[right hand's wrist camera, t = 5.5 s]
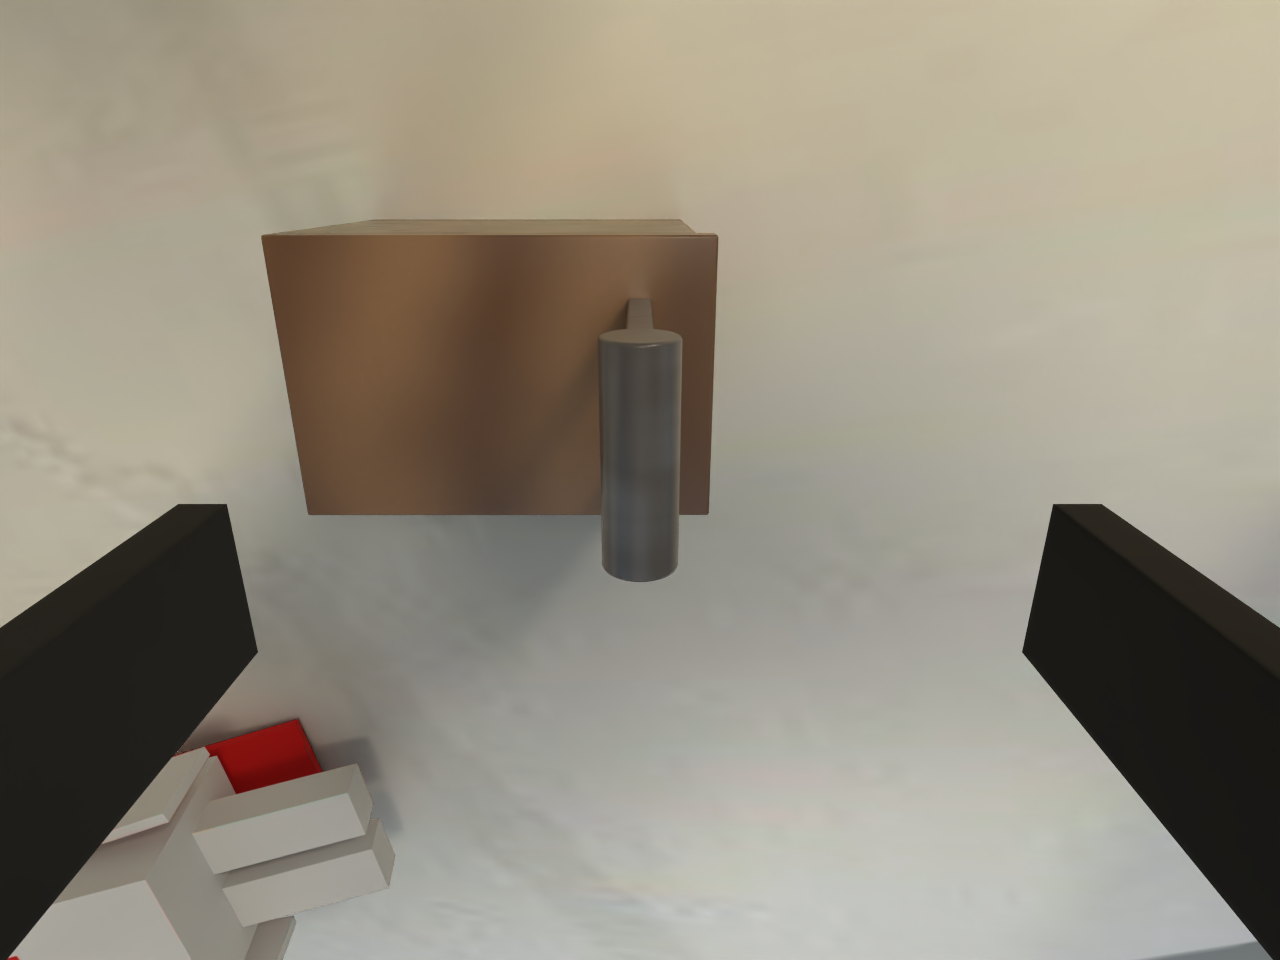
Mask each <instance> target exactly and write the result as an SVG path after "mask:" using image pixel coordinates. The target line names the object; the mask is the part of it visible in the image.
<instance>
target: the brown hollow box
mask: <svg viewBox="0 0 1280 960" xmlns="http://www.w3.org/2000/svg"><path fill="white" fill-rule="evenodd" d="M282 233H696V232H694V231H693V230H692V229H691V228H690V227H689V226H687V225H686V224H685V223H684V222H683V221H682V220H370V221H362V222H355V223H348V224H340V225H333V226H326V227H318V228H311V229H304V230H296V231H289V232H282Z"/></svg>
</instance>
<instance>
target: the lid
mask: <svg viewBox="0 0 1280 960" xmlns="http://www.w3.org/2000/svg"><path fill="white" fill-rule="evenodd" d="M261 239H262V245H263V251H264V256H265V262H266V268H267V274H268V280H269V286H270V292H271V298H272V304H273V310H274V315H275V321H276V327H277V333H278V339H279V345H280V351H281V357H282V363H283V368H284V374H285V380H286V386H287V392H288V398H289V404H290V410H291V416H292V421H293V427H294V433H295V439H296V445H297V451H298V457H299V463H300V469H301V475H302V480H303V486H304V492H305V498H306V504H307V510H308V514H309V515H601V529H602V565H603V567H604V569H605V571H606V572H607V573H608V574H610V575H612V576H613V577H616V578H618V579H622V580H626V581H633V582H647V581H654V580H659V579H662V578H665V577H667V576H669V575H670V574H672V573H673V572H674V571H675V569H676V568H677V565H678V535H679V515H707V514H708V513H709V489H710V461H711V432H712V404H713V375H714V347H715V318H716V289H717V261H718V235H716V234H714V233H274V234H266V235H262V236H261Z"/></svg>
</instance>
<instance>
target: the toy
mask: <svg viewBox="0 0 1280 960" xmlns="http://www.w3.org/2000/svg"><path fill="white" fill-rule="evenodd" d="M373 804H374V803H373V801H372V798H371V796H370V793H369V791H368V789H367V786H366V784H365V782H364V779H363V777H362V774H361V772H360V770H359V767H358V765H357V763H355V764H351V765H347V766H344V767H340V768H336V769H332V770H328V771H324V772H323V771H322V769H321V767H320V765H319V763H318V761H317V759H316V757H315V754H314V752H313V750H312V748H311V746H310V744H309V742H308V740H307V737H306V735H305V733H304V731H303V729H302V727H301V725H300V723H299V721H298V719H296V720H293V721H290V722H286V723H283V724H279V725H276V726H273V727H269V728H266V729H262V730H259V731H256V732H252V733H249V734H245V735H242V736H238V737H235V738H232V739H228V740H225V741H221V742H218V743H215V744H211V745H208V746H204V747H201V748H198V749H194V750H191V751H187V752H184V753H180V754H177V755H174V756H173V757H172V758H171V759H170V760H169V762H168V763H167V764H166V765H165V767H164V768H163V769H162V770H161V771H160V773H159V774H158V775H157V776H156V778H155V779H154V780H153V781H152V782H151V784H150V785H149V786H148V787H147V789H146V790H145V791H144V792H143V794H142V795H141V796H140V797H139V798H138V800H137V801H136V802H135V803H134V805H133V806H132V807H131V808H130V809H129V811H128V812H127V813H126V814H125V816H124V817H123V818H122V819H121V820H120V822H119V823H118V824H117V825H116V827H115V828H114V829H113V830H112V832H111V833H110V834H109V835H108V836H107V838H106V839H105V840H104V841H103V843H102V844H101V845H100V846H99V847H98V849H97V850H96V851H95V852H94V854H93V855H92V856H91V857H90V858H89V860H88V861H87V862H86V863H85V865H84V866H83V867H82V868H81V870H80V871H79V872H78V873H77V874H76V876H75V877H74V878H73V879H72V881H71V882H70V883H69V884H68V885H67V887H66V888H65V889H64V890H63V892H62V893H61V894H60V895H59V896H58V898H57V899H56V900H55V901H54V903H53V904H52V905H51V906H50V908H49V909H48V910H47V911H46V912H45V914H44V915H43V916H42V917H41V919H40V920H39V921H38V922H37V923H36V925H35V926H34V927H33V928H32V930H31V931H30V932H29V933H28V934H27V936H26V937H25V938H24V939H23V941H22V942H21V943H20V944H19V946H18V947H17V948H16V949H15V950H14V952H13V953H12V954H11V955H10V957H9V958H8V959H7V960H283V958H284V955H285V952H286V950H287V947H288V944H289V941H290V939H291V936H292V933H293V931H294V928H295V925H296V921H295V918H294V916H289V917H284V918H280V917H283V916H287V915H291V914H295V913H298V912H302V911H306V910H309V909H313V908H317V907H321V906H324V905H328V904H332V903H335V902H339V901H343V900H347V899H350V898H354V897H358V896H361V895H365V894H369V893H373V892H376V891H380V890H384V889H387V888H389V884H390V879H391V874H392V870H393V865H394V860H395V853H394V851H393V848H392V846H391V844H390V841H389V839H388V836H387V834H386V832H385V829H384V827H383V825H382V822H381V820H380V818H376V819H372V820H369V819H370V816H371V812H372V808H373ZM276 918H278V919H276ZM272 919H273V920H272Z"/></svg>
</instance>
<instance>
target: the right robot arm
mask: <svg viewBox="0 0 1280 960" xmlns="http://www.w3.org/2000/svg"><path fill="white" fill-rule="evenodd" d="M257 653H258V651H257V646H256V641H255V636H254V632H253V627H252V622H251V617H250V613H249V608H248V603H247V598H246V594H245V589H244V584H243V579H242V575H241V570H240V565H239V560H238V556H237V551H236V546H235V541H234V537H233V532H232V527H231V522H230V518H229V513H228V508H227V504H178V505H177V506H175V507H174V508H172V509H171V510H169V511H168V512H166V513H165V514H164V515H162V516H161V517H159V518H158V519H156V520H155V521H154V522H152V523H151V524H149V525H148V526H146V527H145V528H143V529H142V530H141V531H139V532H138V533H136V534H135V535H133V536H132V537H131V538H129V539H128V540H126V541H125V542H123V543H122V544H120V545H119V546H118V547H116V548H115V549H113V550H112V551H110V552H109V553H107V554H106V555H105V556H103V557H102V558H100V559H99V560H97V561H96V562H95V563H93V564H92V565H90V566H89V567H87V568H86V569H84V570H83V571H82V572H80V573H79V574H77V575H76V576H74V577H73V578H71V579H70V580H69V581H67V582H66V583H64V584H63V585H61V586H60V587H59V588H57V589H56V590H54V591H53V592H51V593H50V594H48V595H47V596H46V597H44V598H43V599H41V600H40V601H38V602H37V603H35V604H34V605H33V606H31V607H30V608H28V609H27V610H25V611H24V612H23V613H21V614H20V615H18V616H17V617H15V618H14V619H12V620H11V621H10V622H8V623H7V624H5V625H4V626H2V627H1V628H0V960H7V959H8V958H9V957H10V955H11V954H12V953H13V952H14V950H15V949H16V948H17V947H18V946H19V944H20V943H21V942H22V941H23V939H24V938H25V937H26V936H27V934H28V933H29V932H30V931H31V930H32V928H33V927H34V926H35V925H36V923H37V922H38V921H39V920H40V919H41V917H42V916H43V915H44V914H45V912H46V911H47V910H48V909H49V908H50V906H51V905H52V904H53V903H54V901H55V900H56V899H57V898H58V896H59V895H60V894H61V893H62V892H63V890H64V889H65V888H66V887H67V885H68V884H69V883H70V882H71V881H72V879H73V878H74V877H75V876H76V874H77V873H78V872H79V871H80V870H81V868H82V867H83V866H84V865H85V863H86V862H87V861H88V860H89V858H90V857H91V856H92V855H93V854H94V852H95V851H96V850H97V849H98V847H99V846H100V845H101V844H102V843H103V841H104V840H105V839H106V838H107V836H108V835H109V834H110V833H111V832H112V830H113V829H114V828H115V827H116V825H117V824H118V823H119V822H120V820H121V819H122V818H123V817H124V816H125V814H126V813H127V812H128V811H129V809H130V808H131V807H132V806H133V805H134V803H135V802H136V801H137V800H138V798H139V797H140V796H141V795H142V794H143V792H144V791H145V790H146V789H147V787H148V786H149V785H150V784H151V782H152V781H153V780H154V779H155V778H156V776H157V775H158V774H159V773H160V771H161V770H162V769H163V768H164V767H165V765H166V764H167V763H168V762H169V760H170V759H171V758H172V757H173V756H174V754H175V753H176V752H177V751H178V749H179V748H180V747H181V746H182V744H183V743H184V742H185V741H186V740H187V738H188V737H189V736H190V735H191V733H192V732H193V731H194V730H195V729H196V727H197V726H198V725H199V724H200V722H201V721H202V720H203V719H204V718H205V716H206V715H207V714H208V713H209V711H210V710H211V709H212V708H213V706H214V705H215V704H216V703H217V702H218V700H219V699H220V698H221V697H222V695H223V694H224V693H225V692H226V691H227V689H228V688H229V687H230V686H231V684H232V683H233V682H234V681H235V680H236V678H237V677H238V676H239V675H240V673H241V672H242V671H243V670H244V668H245V667H246V666H247V665H248V664H249V662H250V661H251V660H252V659H253V657H254V656H255V655H256V654H257ZM1022 653H1023V654H1024V655H1025V656H1026V657H1027V659H1028V660H1029V661H1030V662H1031V664H1032V665H1033V666H1034V667H1035V668H1036V670H1037V671H1038V672H1039V673H1040V675H1041V676H1042V677H1043V678H1044V680H1045V681H1046V682H1047V683H1048V684H1049V686H1050V687H1051V688H1052V689H1053V691H1054V692H1055V693H1056V694H1057V695H1058V697H1059V698H1060V699H1061V700H1062V702H1063V703H1064V704H1065V705H1066V706H1067V708H1068V709H1069V710H1070V711H1071V713H1072V714H1073V715H1074V716H1075V718H1076V719H1077V720H1078V721H1079V722H1080V724H1081V725H1082V726H1083V727H1084V729H1085V730H1086V731H1087V732H1088V733H1089V735H1090V736H1091V737H1092V738H1093V740H1094V741H1095V742H1096V743H1097V744H1098V746H1099V747H1100V748H1101V749H1102V751H1103V752H1104V753H1105V754H1106V756H1107V757H1108V758H1109V759H1110V760H1111V762H1112V763H1113V764H1114V765H1115V767H1116V768H1117V769H1118V770H1119V771H1120V773H1121V774H1122V775H1123V776H1124V778H1125V779H1126V780H1127V781H1128V782H1129V784H1130V785H1131V786H1132V787H1133V789H1134V790H1135V791H1136V792H1137V794H1138V795H1139V796H1140V797H1141V798H1142V800H1143V801H1144V802H1145V803H1146V805H1147V806H1148V807H1149V808H1150V809H1151V811H1152V812H1153V813H1154V814H1155V816H1156V817H1157V818H1158V819H1159V820H1160V822H1161V823H1162V824H1163V825H1164V827H1165V828H1166V829H1167V830H1168V832H1169V833H1170V834H1171V835H1172V836H1173V838H1174V839H1175V840H1176V841H1177V843H1178V844H1179V845H1180V846H1181V847H1182V849H1183V850H1184V851H1185V852H1186V854H1187V855H1188V856H1189V857H1190V858H1191V860H1192V861H1193V862H1194V863H1195V865H1196V866H1197V867H1198V868H1199V870H1200V871H1201V872H1202V873H1203V874H1204V876H1205V877H1206V878H1207V879H1208V881H1209V882H1210V883H1211V884H1212V885H1213V887H1214V888H1215V889H1216V890H1217V892H1218V893H1219V894H1220V895H1221V896H1222V898H1223V899H1224V900H1225V901H1226V903H1227V904H1228V905H1229V906H1230V908H1231V909H1232V910H1233V911H1234V912H1235V914H1236V915H1237V916H1238V917H1239V919H1240V920H1241V921H1242V922H1243V923H1244V925H1245V926H1246V927H1247V928H1248V930H1249V931H1250V932H1251V933H1252V934H1253V936H1254V937H1255V938H1256V939H1257V941H1258V942H1259V943H1260V944H1261V946H1262V947H1263V948H1264V949H1265V950H1266V952H1267V953H1268V954H1269V955H1270V957H1271V958H1272V959H1273V960H1280V628H1279V627H1278V626H1276V625H1275V624H1273V623H1272V622H1270V621H1269V620H1268V619H1266V618H1265V617H1263V616H1262V615H1260V614H1259V613H1257V612H1256V611H1255V610H1253V609H1252V608H1250V607H1249V606H1247V605H1246V604H1245V603H1243V602H1242V601H1240V600H1239V599H1237V598H1236V597H1234V596H1233V595H1232V594H1230V593H1229V592H1227V591H1226V590H1224V589H1223V588H1221V587H1220V586H1219V585H1217V584H1216V583H1214V582H1213V581H1211V580H1210V579H1209V578H1207V577H1206V576H1204V575H1203V574H1201V573H1200V572H1198V571H1197V570H1196V569H1194V568H1193V567H1191V566H1190V565H1188V564H1187V563H1185V562H1184V561H1183V560H1181V559H1180V558H1178V557H1177V556H1175V555H1174V554H1173V553H1171V552H1170V551H1168V550H1167V549H1165V548H1164V547H1162V546H1161V545H1160V544H1158V543H1157V542H1155V541H1154V540H1152V539H1151V538H1149V537H1148V536H1147V535H1145V534H1144V533H1142V532H1141V531H1139V530H1138V529H1137V528H1135V527H1134V526H1132V525H1131V524H1129V523H1128V522H1126V521H1125V520H1124V519H1122V518H1121V517H1119V516H1118V515H1116V514H1115V513H1114V512H1112V511H1111V510H1109V509H1108V508H1106V507H1105V506H1103V505H1102V504H1053V508H1052V513H1051V518H1050V522H1049V527H1048V532H1047V537H1046V541H1045V546H1044V551H1043V556H1042V560H1041V565H1040V570H1039V575H1038V579H1037V584H1036V589H1035V594H1034V598H1033V603H1032V608H1031V613H1030V617H1029V622H1028V627H1027V632H1026V636H1025V641H1024V646H1023V651H1022Z"/></svg>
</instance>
